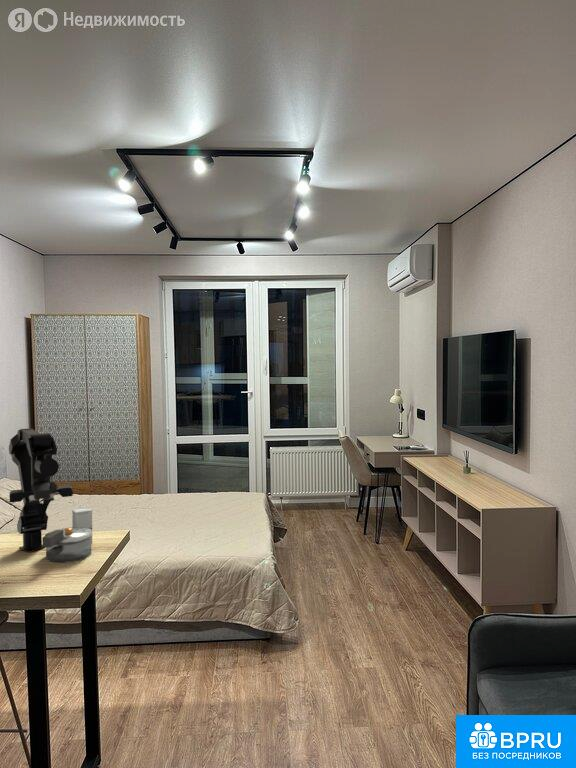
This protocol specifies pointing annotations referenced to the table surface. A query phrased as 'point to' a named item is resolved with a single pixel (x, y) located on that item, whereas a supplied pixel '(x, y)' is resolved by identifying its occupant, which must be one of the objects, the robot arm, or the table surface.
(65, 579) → the table surface
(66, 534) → the lid
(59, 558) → the pot
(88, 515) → the skincare box
